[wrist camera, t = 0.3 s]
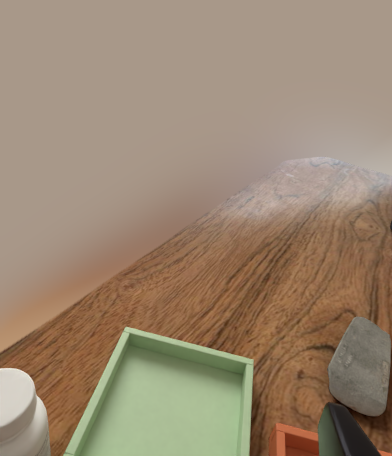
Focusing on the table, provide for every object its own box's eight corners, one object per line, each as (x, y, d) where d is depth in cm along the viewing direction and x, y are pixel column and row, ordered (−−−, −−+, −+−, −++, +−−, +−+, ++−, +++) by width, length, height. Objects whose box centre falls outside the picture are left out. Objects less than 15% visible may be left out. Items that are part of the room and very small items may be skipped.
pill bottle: (-49, 494, 20) (-80, 416, 16) (10, 425, 24) (-3, 348, 20) (14, 532, 19) (-3, 458, 15) (66, 454, 23) (62, 379, 19)
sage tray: (238, 532, 21) (246, 517, 20) (60, 479, 22) (59, 462, 21) (248, 374, 31) (253, 359, 30) (124, 342, 31) (125, 326, 30)
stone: (384, 421, 28) (322, 383, 29) (375, 431, 28) (315, 394, 30) (398, 329, 36) (350, 305, 38) (391, 339, 37) (344, 315, 39)
